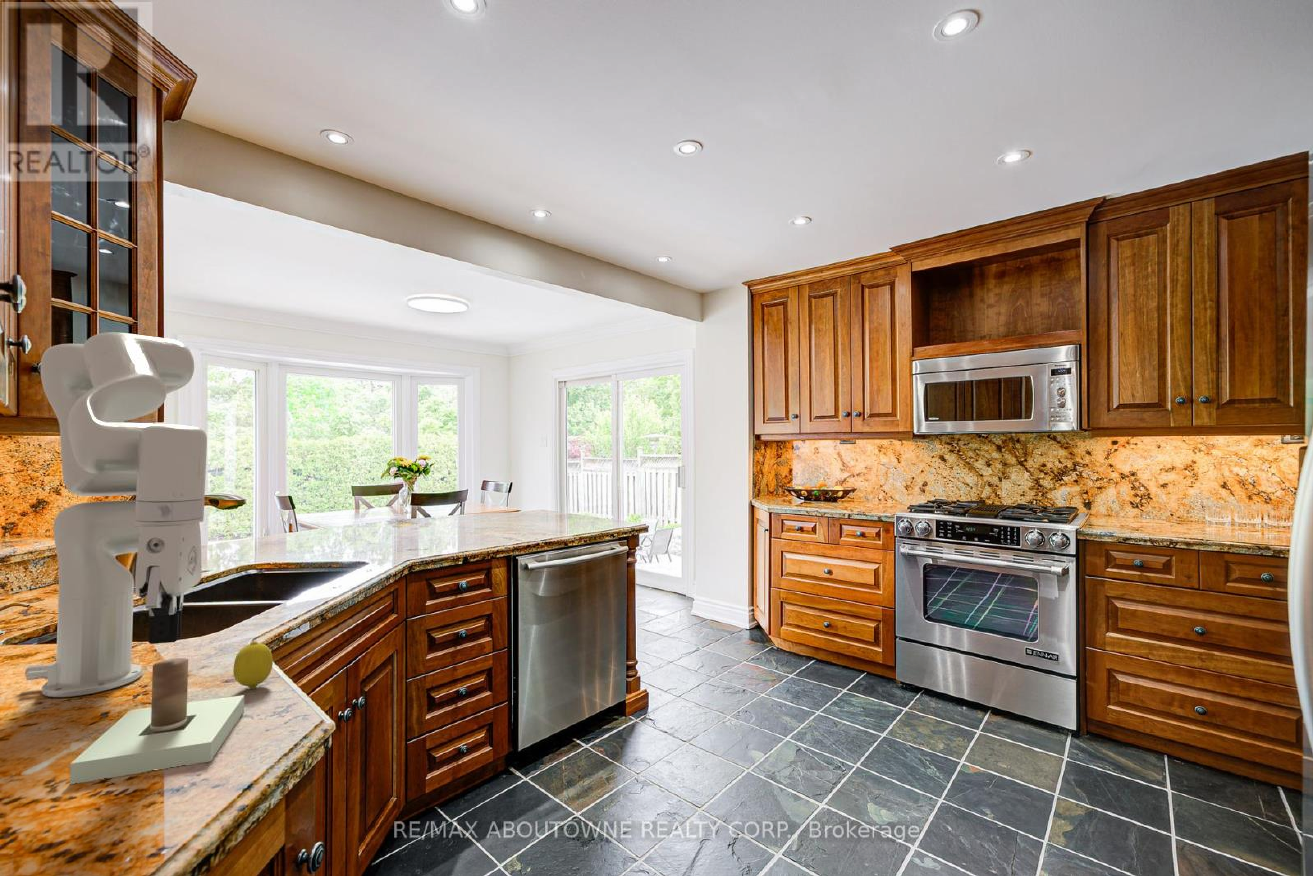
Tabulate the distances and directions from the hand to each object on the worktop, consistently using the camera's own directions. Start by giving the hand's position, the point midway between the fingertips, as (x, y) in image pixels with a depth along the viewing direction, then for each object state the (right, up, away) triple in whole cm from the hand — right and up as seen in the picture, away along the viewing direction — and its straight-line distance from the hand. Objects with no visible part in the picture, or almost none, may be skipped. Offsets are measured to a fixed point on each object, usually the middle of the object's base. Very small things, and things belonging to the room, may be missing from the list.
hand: (164, 641), depth 82 cm
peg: (+2, -14, -2) cm, 14 cm away
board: (+2, -13, -2) cm, 14 cm away
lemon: (+1, -14, +17) cm, 22 cm away
